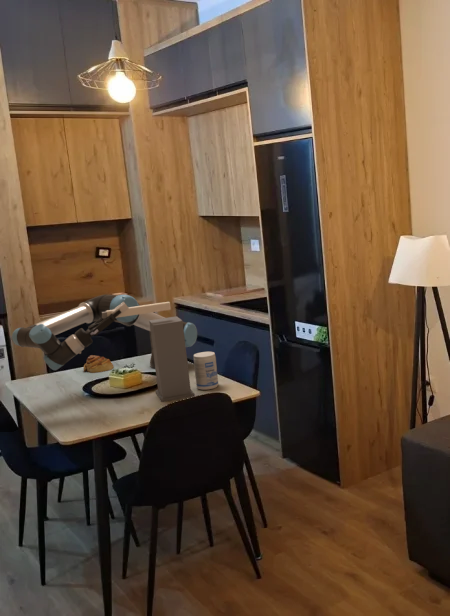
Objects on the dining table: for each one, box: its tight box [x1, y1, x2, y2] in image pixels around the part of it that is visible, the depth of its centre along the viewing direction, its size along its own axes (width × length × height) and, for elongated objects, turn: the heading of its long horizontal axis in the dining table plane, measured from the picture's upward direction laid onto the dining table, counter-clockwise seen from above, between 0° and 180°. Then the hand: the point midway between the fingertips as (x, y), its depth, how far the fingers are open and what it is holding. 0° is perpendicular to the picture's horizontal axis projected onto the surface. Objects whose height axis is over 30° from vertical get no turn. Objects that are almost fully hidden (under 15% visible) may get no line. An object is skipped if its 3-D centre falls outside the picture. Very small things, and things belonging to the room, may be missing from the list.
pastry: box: [83, 354, 115, 374], centre depth 330 cm, size 13×15×8 cm
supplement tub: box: [193, 351, 219, 391], centre depth 278 cm, size 10×10×15 cm
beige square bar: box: [102, 301, 172, 319], centre depth 265 cm, size 3×28×3 cm, turn 105°
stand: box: [149, 315, 195, 403], centre depth 271 cm, size 14×14×32 cm
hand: (126, 305), depth 263 cm, fingers closed on beige square bar, 3 cm apart
